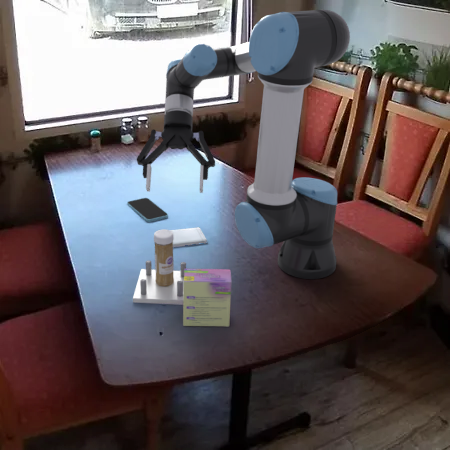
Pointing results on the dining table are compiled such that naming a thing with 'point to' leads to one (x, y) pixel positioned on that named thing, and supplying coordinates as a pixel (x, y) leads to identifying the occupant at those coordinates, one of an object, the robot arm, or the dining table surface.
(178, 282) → the pin tray
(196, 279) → the box
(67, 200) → the dining table surface
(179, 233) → the hard drive
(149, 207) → the smartphone
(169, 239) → the sprinkles bottle
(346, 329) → the dining table surface
